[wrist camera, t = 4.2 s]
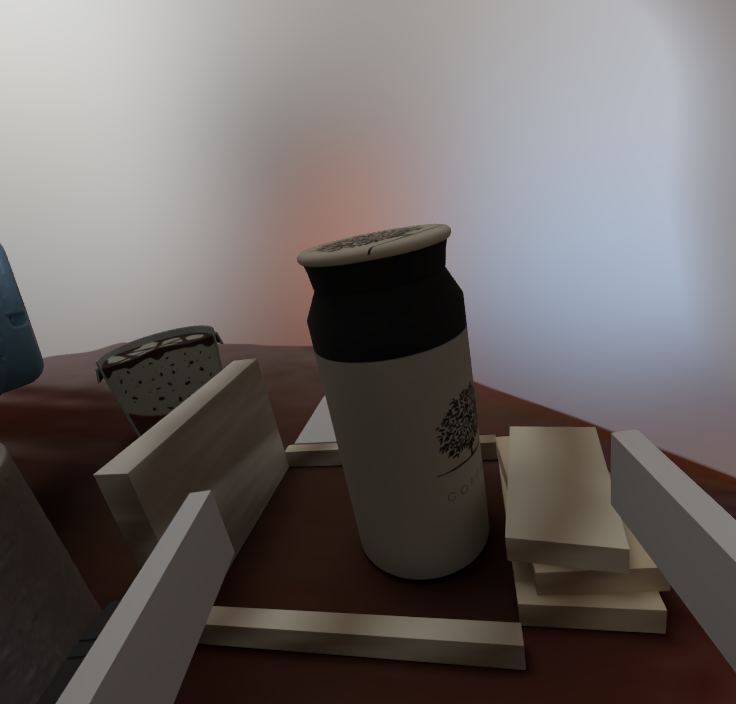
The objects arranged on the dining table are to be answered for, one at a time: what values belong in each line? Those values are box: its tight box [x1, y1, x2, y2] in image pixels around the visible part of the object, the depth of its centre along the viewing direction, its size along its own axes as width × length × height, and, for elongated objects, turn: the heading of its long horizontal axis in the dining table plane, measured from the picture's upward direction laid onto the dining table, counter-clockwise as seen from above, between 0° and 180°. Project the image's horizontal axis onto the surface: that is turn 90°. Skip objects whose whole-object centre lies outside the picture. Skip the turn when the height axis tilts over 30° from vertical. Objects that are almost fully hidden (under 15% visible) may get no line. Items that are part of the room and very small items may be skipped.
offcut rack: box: [94, 358, 670, 670], centre depth 25 cm, size 26×16×10 cm, turn 78°
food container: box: [96, 325, 224, 437], centre depth 48 cm, size 12×6×10 cm, turn 119°
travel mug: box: [297, 224, 489, 580], centre depth 24 cm, size 8×8×18 cm
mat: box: [295, 396, 337, 445], centre depth 41 cm, size 10×10×1 cm
